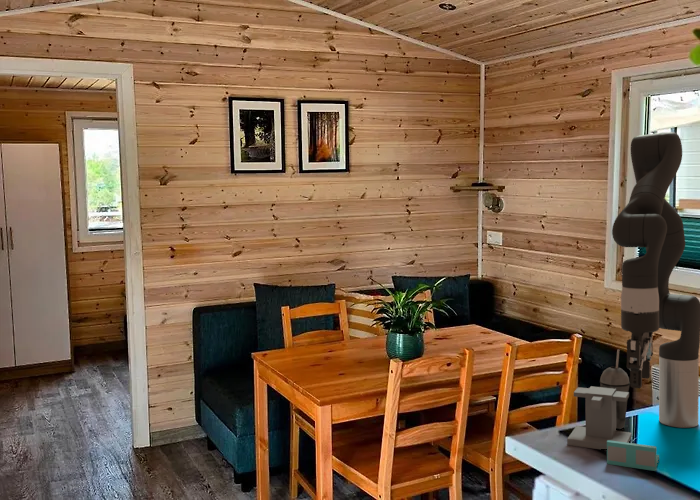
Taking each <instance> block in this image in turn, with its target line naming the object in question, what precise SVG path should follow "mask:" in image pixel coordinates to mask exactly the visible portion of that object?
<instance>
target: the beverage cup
mask: <svg viewBox="0 0 700 500" xmlns="http://www.w3.org/2000/svg"><path fill="white" fill-rule="evenodd" d="M619 359H620V349H618V348H617V351H616V361H615V366H610V367H607V368H606V369H604V370H603V371H602V374H601V376H600V379H599V383H600V386H599V387H603V388H613V389H616V391H620V392H629V390H630V376H628V373H627V372H626V371H625V370H624V369H623V368H621V367H619V361H620V360H619ZM627 405H628V400H627V401H626V402H623V401H616V428H623V427H624V428H625V424H626V418H627V417H626V416H627V408H628V406H627Z"/></svg>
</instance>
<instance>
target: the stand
mask: <svg viewBox="0 0 700 500" xmlns="http://www.w3.org/2000/svg"><path fill="white" fill-rule="evenodd" d="M573 397H576V398H584V400H585V405H584V406H585V426H581V425H576V426H575V428H573V430H572V432H571V433H570V434H569V436H568V437H567V440H566V442H567V443H566V445H567V446H572V447H573V446H574V447H580V448H587V449H588V448H589V449H595V450H601V449H607V441H608V440H611V441H618V442H626V443H629V441H630V439H631V437H632V436H633V435H632V434H633V433H632V432H629V431H622V430H616V401H623V402H626V401H627V402H628V399H629V397H630V392H629V391H628V392H620V391H616V389H613V388H603V387H601V386H592V385H591V386H590V387H588V388H587V387H579V386H578V387H577V388H576V389H575V390H574V391H573ZM631 440H632V439H631ZM630 442H631V441H630Z"/></svg>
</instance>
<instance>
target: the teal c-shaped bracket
mask: <svg viewBox="0 0 700 500" xmlns="http://www.w3.org/2000/svg"><path fill="white" fill-rule="evenodd" d="M658 460H659V461H660V455H659V454H657V446H655V445H647V444H640V443H639V444H638V443H631V442H630V443H626V442H618V441H611V440H608V441H607V450H606V465H612V466H617V467H618V466H620V467H626V468H633V469H639V470H647V471H652V472H653V471H654V472H656V471H657V468H658V467H657V466H658V464H659V461H658ZM657 463H658V464H657Z"/></svg>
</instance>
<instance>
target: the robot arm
mask: <svg viewBox="0 0 700 500" xmlns="http://www.w3.org/2000/svg"><path fill="white" fill-rule="evenodd" d="M682 144H683V143H682V140H681V137H680V135H679V134H678V133H677V132H674V131H665V132H657V133H649V134H641V135H637V136H634V137H633V138H632V140H631V142H630V157H631V164H632V169H633V175H634V178H635V182H636V183H635V185H634V187H633V188H632V191H631V193H630V196H629V200H628V203H627V204H626V205H625V207H624V208H623V209H622V210H621V211H620V213H619V214H618V215H617V216H616V218H615V220H614V222H613V224H612V231H611V235H612V238H613V241H614V242H615V243H616V244H617V245H618V246H620V247H621V248H645V251H646V253H645V254H644V255H641V256H639V257H635V258H628V259H625V260H624V261H623V262H622V265H621V294H620V312H621V313H620V327H621V329H622V330H623V331H626V332H630V333H631V335H630V338H629V339H627V341H626V366H625V367H626V369H628V370H629V382H630V385H629V387H630V388H632V389H633V388H634V389H641V388H642V386H643V379H647V380H648V379H649V378H650V377H651V361H652V357H653V355H654V349H653V342H654V341H653V333H656V332H658V331H659V330H660V329H662V330H670V331H677V332H680V337H679V338H678V339H676V340H673V341H668V342H664V343H662V344H660V345H659V348H658V359H659V360H658V368H659V369H658V371H659V373H658V377H659V378H658V379H659V380H658V394H659V395H658V400H659V401H658V420H659V422H660V423H661V424H662V425H665V426H669V427H675V428H687V429H688V428H695V427H697V426H699V388H700V387H699V386H700V385H699V384H700V383H699V379H700V378H699V351H700V299H699V298H698V297H697V296H694V295H686V294H676V293H674V294H673V293H670V288H669V282H670V276H671V274H672V272H673V270H674V268H675V267H676V265H677V264H678V263H679V261H680V259H681V257H682V255H683V253H684V251H685V249H686V248H685V247H686V236H685V230H684V222H683V219H682V217H681V216H680V213H679V212H678V211H677V210H676V209H675V208H674V207H673V206H672V204H670V203H669V202H668V201H667V199H666V196H667V192H668V190H669V187H670V185H672V182H673V180H674V179H675V177H676V174H677V173H678V170H679V169H680V166H681V164H682V161H683V160H682V159H683V145H682ZM635 361H636V363H635Z"/></svg>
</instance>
